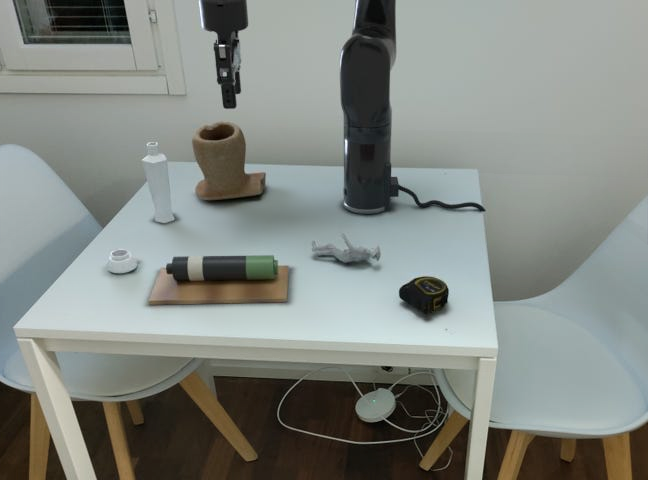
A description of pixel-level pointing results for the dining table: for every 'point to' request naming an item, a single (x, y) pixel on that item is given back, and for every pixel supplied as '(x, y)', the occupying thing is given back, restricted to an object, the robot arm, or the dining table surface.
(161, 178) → the perfume bottle
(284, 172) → the dining table surface
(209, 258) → the marker
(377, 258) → the soldier figure
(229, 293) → the wooden board
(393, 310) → the dining table surface
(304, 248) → the dining table surface
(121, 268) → the white jar
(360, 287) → the dining table surface
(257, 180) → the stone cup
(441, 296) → the tape measure
